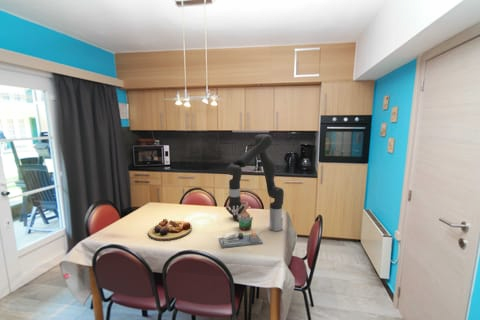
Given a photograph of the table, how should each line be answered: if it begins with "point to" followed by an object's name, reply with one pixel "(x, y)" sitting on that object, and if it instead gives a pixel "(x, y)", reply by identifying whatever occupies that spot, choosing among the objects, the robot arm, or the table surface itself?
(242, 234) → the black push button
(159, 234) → the wooden plate with food
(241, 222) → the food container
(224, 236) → the grey slider knob
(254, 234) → the orange plunger
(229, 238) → the cream rocker
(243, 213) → the ceramic jug
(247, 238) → the panel
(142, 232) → the table surface
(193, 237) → the table surface
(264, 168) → the robot arm
